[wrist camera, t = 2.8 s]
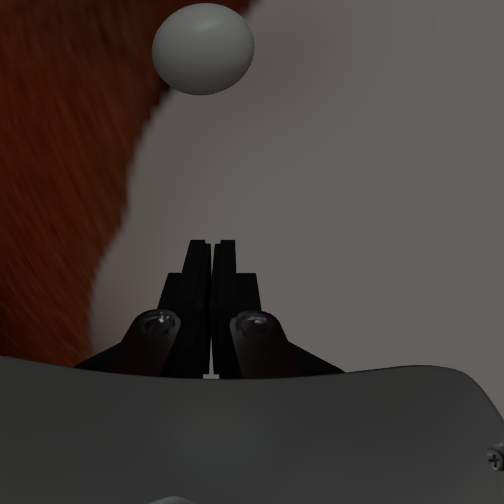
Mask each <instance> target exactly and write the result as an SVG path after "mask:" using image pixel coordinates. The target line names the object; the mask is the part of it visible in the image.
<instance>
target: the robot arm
mask: <svg viewBox="0 0 504 504" xmlns="http://www.w3.org/2000/svg"><path fill="white" fill-rule="evenodd" d="M211 339H212V354H213V355H212V356H213V371H214V374H219V379H203V374H209V363H210V343H211ZM0 504H504V420H503V418H502V417H501V415H500V413H499V412H498V410H497V409H496V407H495V406H494V404H493V403H492V401H491V400H490V398H489V397H488V396H487V394H486V393H485V392H484V391H483V389H482V388H481V387H480V386H479V385H478V384H477V383H476V382H475V381H474V380H473V379H472V378H471V377H469V376H468V375H467V374H465V373H463V372H461V371H458V370H455V369H451V368H446V367H439V366H432V365H410V366H397V367H389V368H381V369H372V370H363V371H355V372H344V371H342V370H341V369H339V368H338V367H336V366H334V365H332V364H330V363H328V362H326V361H324V360H322V359H320V358H318V357H316V356H314V355H313V354H311V353H309V352H307V351H305V350H303V349H302V348H300V347H298V346H296V345H294V344H292V343H291V342H289V341H288V340H287V338H286V335H285V333H284V331H283V329H282V327H281V324H280V322H279V321H278V320H277V318H276V317H274V316H273V315H272V314H270V313H267V312H264V311H262V310H261V303H260V297H259V290H258V284H257V277H256V273H236V254H235V240H221V243H220V244H215V248H214V259H213V270H212V273H211V244H205V240H191V241H190V244H189V247H188V251H187V255H186V258H185V262H184V266H183V270H182V273H169V274H168V276H167V279H166V282H165V285H164V288H163V291H162V294H161V298H160V301H159V304H158V307H157V309H154V310H149V311H146V312H143V313H142V314H140V315H139V316H137V317H136V318H135V320H134V321H133V323H132V324H131V326H130V328H129V329H128V331H127V333H126V334H125V336H124V338H123V339H122V341H121V342H120V343H118V344H117V345H115V346H113V347H111V348H109V349H107V350H105V351H103V352H101V353H99V354H97V355H95V356H93V357H91V358H89V359H87V360H85V361H83V362H81V363H79V364H77V365H76V366H74V367H67V366H61V365H56V364H50V363H45V362H40V361H34V360H28V359H22V358H17V357H11V356H1V355H0Z"/></svg>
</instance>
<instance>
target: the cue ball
mask: <svg viewBox="0 0 504 504" xmlns="http://www.w3.org/2000/svg"><path fill="white" fill-rule="evenodd" d="M253 55H254V38H253V35H252V32H251V29H250V28H249V26H248V24H247V23H246V21H245V20H244V19H243V18H242V17H241V16H240V15H239V14H237V13H236V12H235V11H233V10H231V9H229V8H227V7H224V6H221V5H217V4H211V3H201V4H194V5H190V6H187V7H184V8H182V9H180V10H178V11H176V12H175V13H173V14H172V15H171V16H169V17H168V18H167V19H166V20H165V21H164V22H163V23H162V25H161V26H160V27H159V29H158V31H157V33H156V35H155V37H154V40H153V45H152V59H153V63H154V66H155V69H156V71H157V72H158V74H159V75H160V77H161V78H162V79H163V80H164V81H165V82H166V83H167V84H168V85H170V86H171V87H172V88H174V89H176V90H178V91H180V92H183V93H187V94H192V95H208V94H214V93H217V92H220V91H223V90H225V89H227V88H229V87H230V86H232V85H234V84H235V83H236V82H237V81H239V80H240V79H241V78H242V77H243V76H244V74H245V73H246V72H247V70H248V68H249V66H250V65H251V62H252V59H253Z"/></svg>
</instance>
